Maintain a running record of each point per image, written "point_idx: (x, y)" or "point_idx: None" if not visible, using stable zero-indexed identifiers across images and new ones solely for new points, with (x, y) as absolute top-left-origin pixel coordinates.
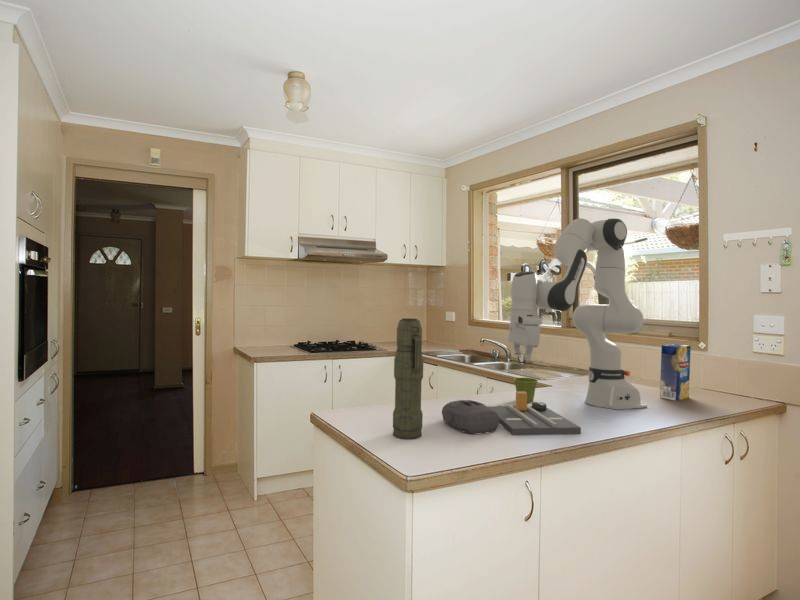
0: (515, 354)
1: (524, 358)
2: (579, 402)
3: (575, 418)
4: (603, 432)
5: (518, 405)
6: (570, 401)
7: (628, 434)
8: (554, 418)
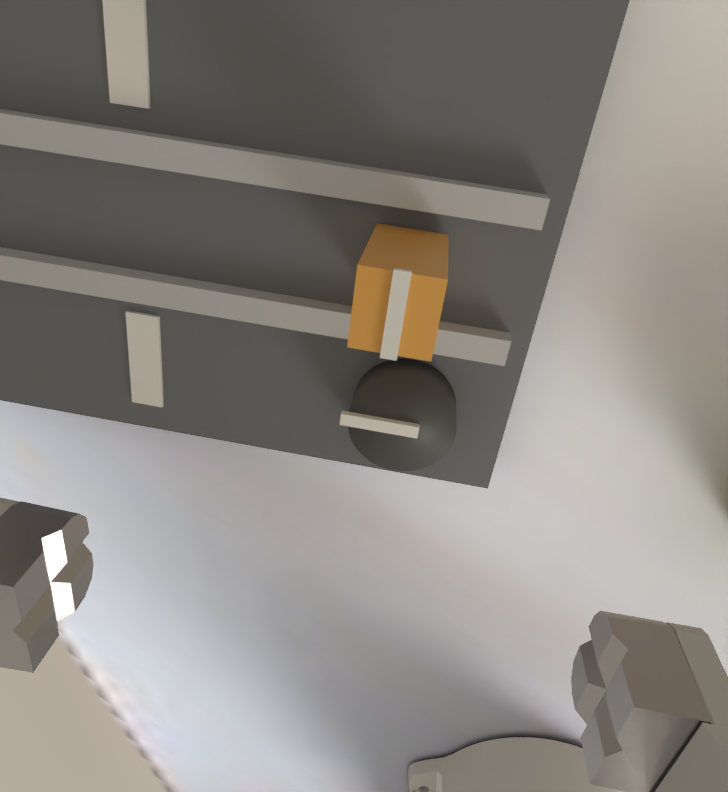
0: (635, 625)
1: (64, 511)
2: None
3: (294, 529)
4: (35, 493)
5: (374, 233)
6: None
7: None
8: (144, 359)
